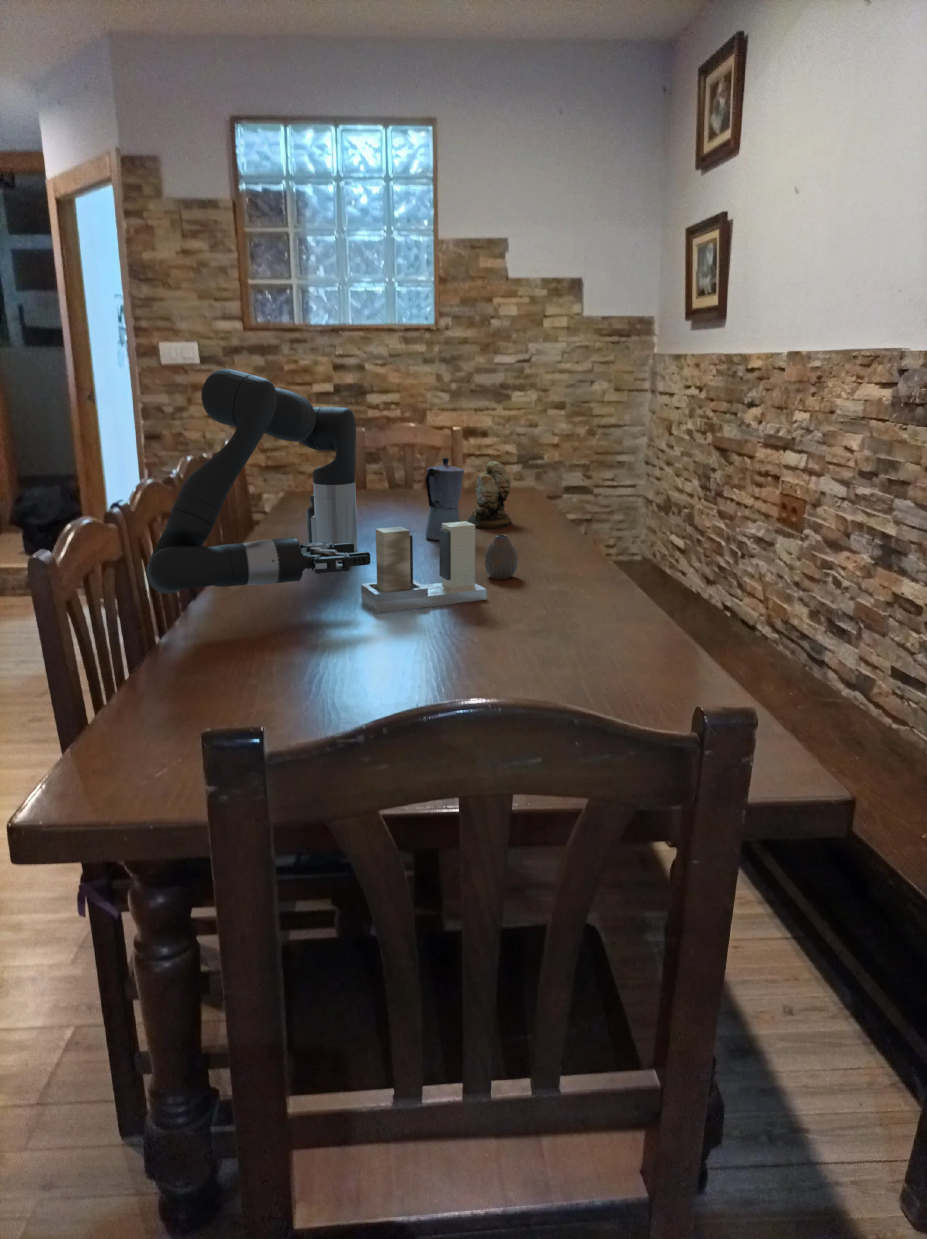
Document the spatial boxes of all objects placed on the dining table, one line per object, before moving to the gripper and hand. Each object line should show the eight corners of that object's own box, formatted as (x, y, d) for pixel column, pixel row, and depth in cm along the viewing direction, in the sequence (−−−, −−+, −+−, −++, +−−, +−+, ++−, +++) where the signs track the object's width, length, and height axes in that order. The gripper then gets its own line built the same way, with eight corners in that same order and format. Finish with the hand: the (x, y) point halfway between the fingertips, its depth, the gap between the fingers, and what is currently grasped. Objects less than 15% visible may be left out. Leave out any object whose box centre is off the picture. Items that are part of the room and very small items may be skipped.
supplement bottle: (302, 544, 210) (299, 494, 207) (324, 539, 215) (322, 491, 212) (320, 548, 206) (317, 498, 202) (342, 543, 211) (340, 494, 207)
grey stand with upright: (376, 613, 154) (374, 536, 150) (361, 602, 161) (359, 528, 157) (486, 599, 163) (487, 526, 159) (468, 589, 170) (468, 518, 166)
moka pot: (473, 535, 221) (473, 456, 216) (446, 546, 208) (446, 462, 202) (439, 531, 225) (439, 454, 219) (411, 543, 212) (410, 460, 206)
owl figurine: (474, 517, 247) (475, 456, 242) (514, 519, 245) (516, 458, 240) (462, 528, 230) (463, 463, 225) (506, 530, 228) (508, 465, 223)
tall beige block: (385, 598, 156) (383, 532, 152) (377, 593, 159) (375, 528, 156) (413, 594, 158) (412, 530, 155) (405, 589, 162) (404, 526, 158)
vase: (515, 582, 176) (515, 539, 173) (481, 580, 177) (482, 538, 174) (519, 574, 182) (520, 533, 179) (487, 572, 183) (487, 531, 181)
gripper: (280, 547, 140) (375, 539, 146) (259, 532, 152) (347, 525, 159) (283, 592, 142) (376, 582, 149) (262, 574, 154) (349, 565, 161)
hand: (361, 553), depth 154 cm, fingers open, 8 cm apart
